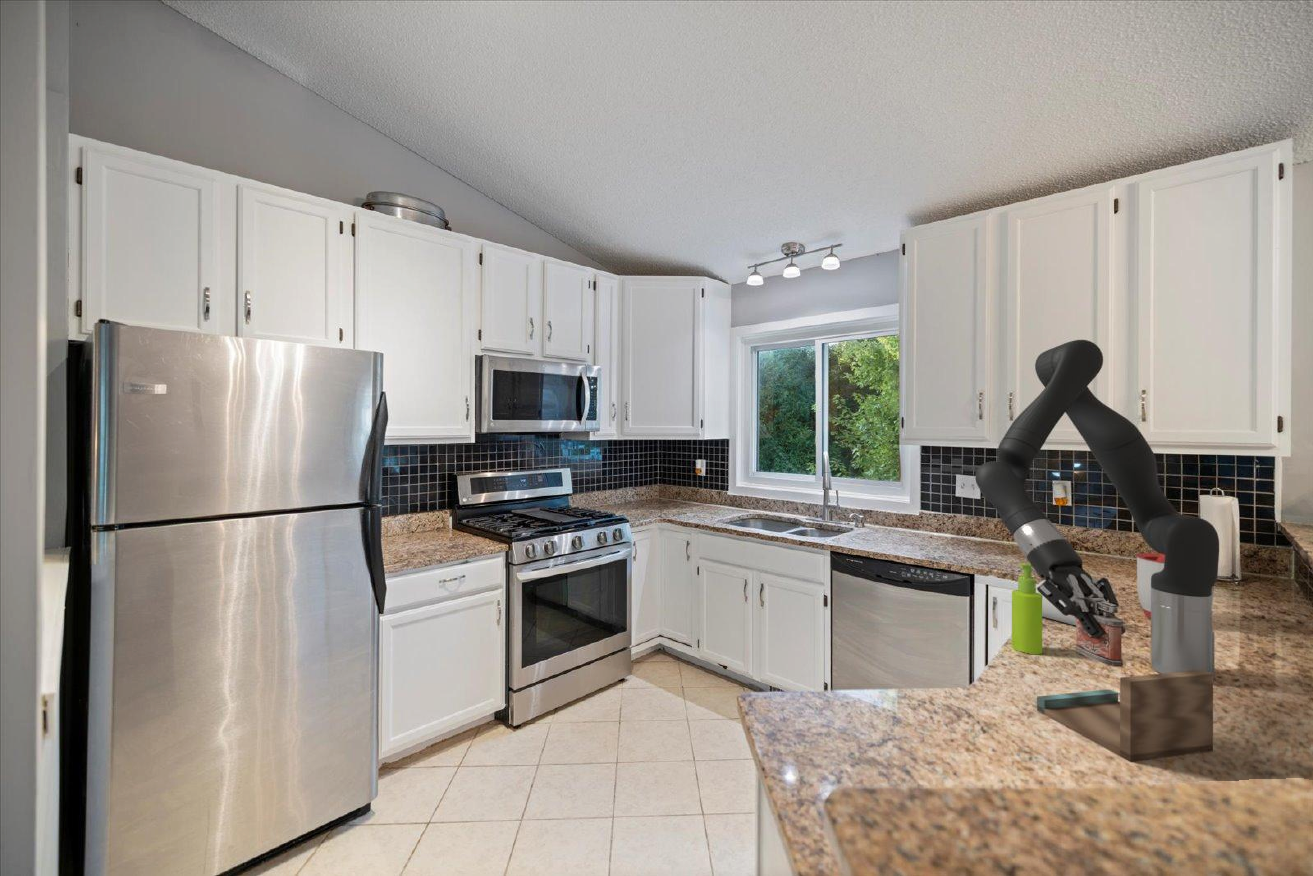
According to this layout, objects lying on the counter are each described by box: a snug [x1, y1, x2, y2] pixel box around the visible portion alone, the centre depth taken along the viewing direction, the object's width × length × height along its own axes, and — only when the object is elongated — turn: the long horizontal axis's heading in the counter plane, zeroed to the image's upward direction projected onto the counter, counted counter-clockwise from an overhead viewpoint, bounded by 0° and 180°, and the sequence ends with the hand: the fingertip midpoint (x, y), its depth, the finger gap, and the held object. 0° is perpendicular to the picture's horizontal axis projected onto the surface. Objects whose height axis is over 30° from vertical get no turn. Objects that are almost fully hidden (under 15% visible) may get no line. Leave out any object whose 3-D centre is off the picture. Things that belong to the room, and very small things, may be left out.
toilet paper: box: [1036, 579, 1093, 626], centre depth 148 cm, size 10×10×10 cm
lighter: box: [1074, 597, 1124, 668], centre depth 94 cm, size 8×3×10 cm, turn 4°
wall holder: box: [1036, 670, 1214, 763], centre depth 92 cm, size 16×16×12 cm
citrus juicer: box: [1135, 552, 1214, 619], centre depth 148 cm, size 16×17×20 cm
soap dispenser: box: [1011, 562, 1043, 655], centre depth 127 cm, size 6×7×20 cm
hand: (1109, 634), depth 92 cm, fingers closed on lighter, 3 cm apart
